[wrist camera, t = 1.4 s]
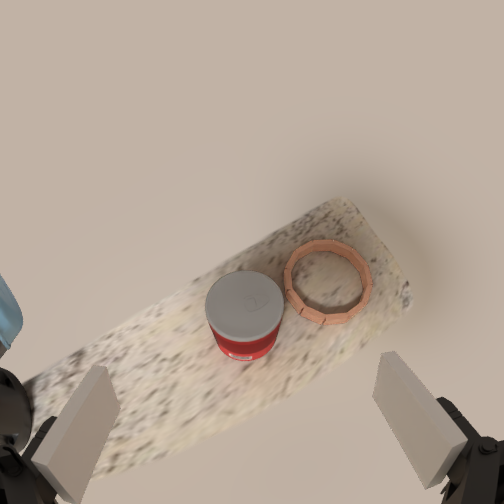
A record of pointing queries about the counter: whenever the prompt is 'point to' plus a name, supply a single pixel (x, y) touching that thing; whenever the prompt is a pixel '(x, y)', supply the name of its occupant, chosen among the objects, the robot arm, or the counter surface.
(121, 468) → the counter surface
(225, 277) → the canned food
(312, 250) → the ring
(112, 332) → the counter surface
